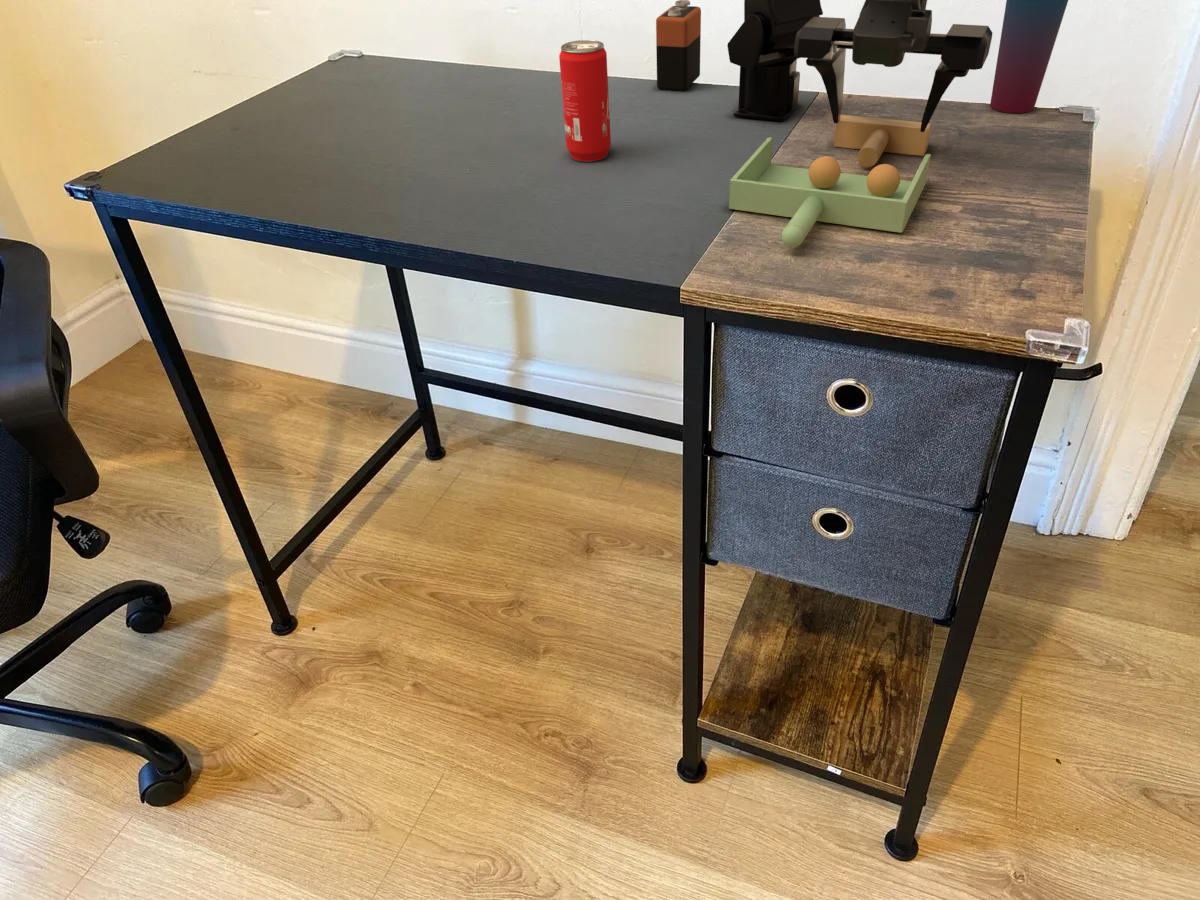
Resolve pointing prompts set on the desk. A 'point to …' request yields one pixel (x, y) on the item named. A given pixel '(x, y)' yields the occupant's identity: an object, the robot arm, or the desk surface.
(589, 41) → the beverage can
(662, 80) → the battery
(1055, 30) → the cup
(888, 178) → the cork ball
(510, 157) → the desk surface
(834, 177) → the cork ball
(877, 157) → the brush
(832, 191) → the dustpan
